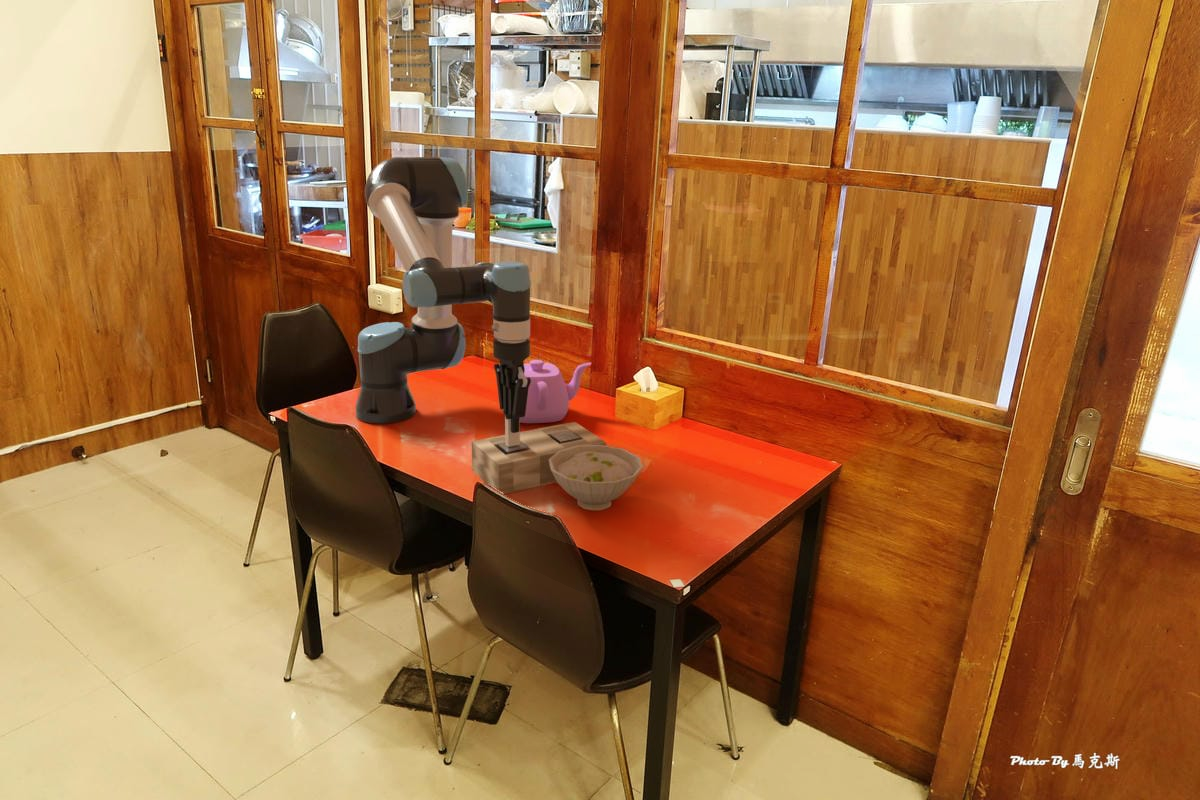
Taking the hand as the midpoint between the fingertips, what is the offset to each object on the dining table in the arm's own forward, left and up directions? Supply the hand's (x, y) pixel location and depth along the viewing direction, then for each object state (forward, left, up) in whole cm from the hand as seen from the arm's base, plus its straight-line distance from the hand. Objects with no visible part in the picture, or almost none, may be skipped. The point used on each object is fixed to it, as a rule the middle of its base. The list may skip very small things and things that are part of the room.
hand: (512, 444), depth 172 cm
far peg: (0, +13, -7) cm, 15 cm away
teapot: (-31, +23, -8) cm, 39 cm away
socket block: (0, +7, -8) cm, 10 cm away
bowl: (+19, +10, -8) cm, 23 cm away
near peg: (0, 0, -7) cm, 7 cm away
